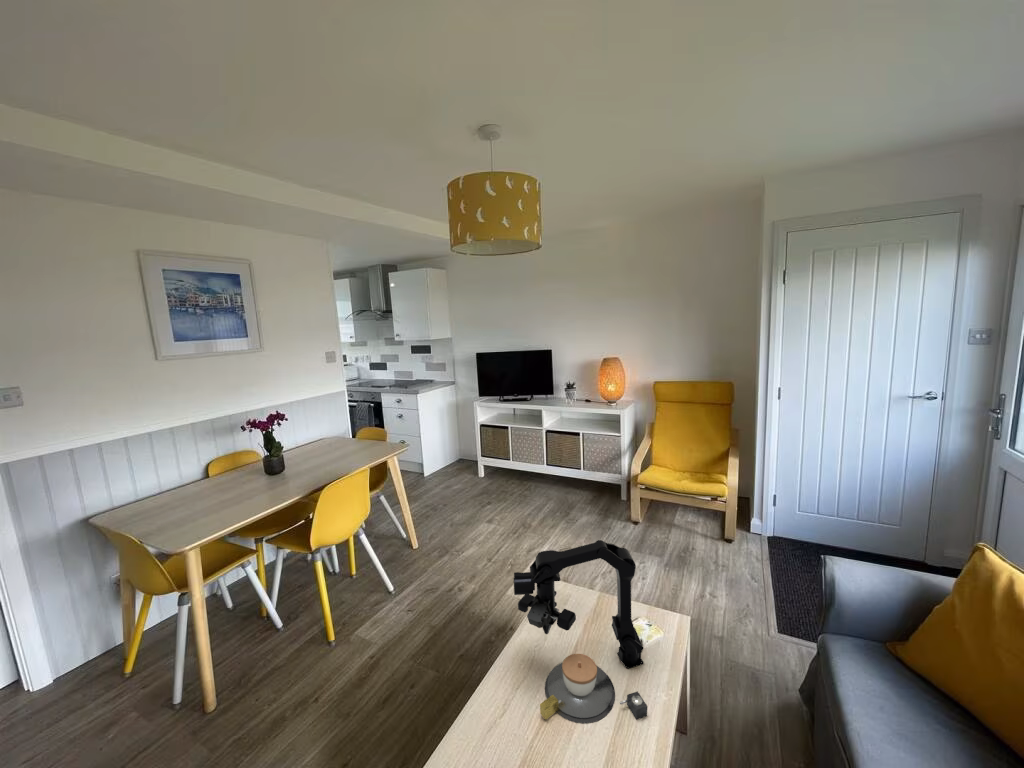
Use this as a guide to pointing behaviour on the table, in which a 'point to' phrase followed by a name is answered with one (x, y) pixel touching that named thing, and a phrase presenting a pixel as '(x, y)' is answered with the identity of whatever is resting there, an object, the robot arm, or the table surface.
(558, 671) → the turntable
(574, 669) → the lidded jar
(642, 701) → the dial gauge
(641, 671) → the table surface
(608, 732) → the table surface
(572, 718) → the turntable base
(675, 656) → the table surface
